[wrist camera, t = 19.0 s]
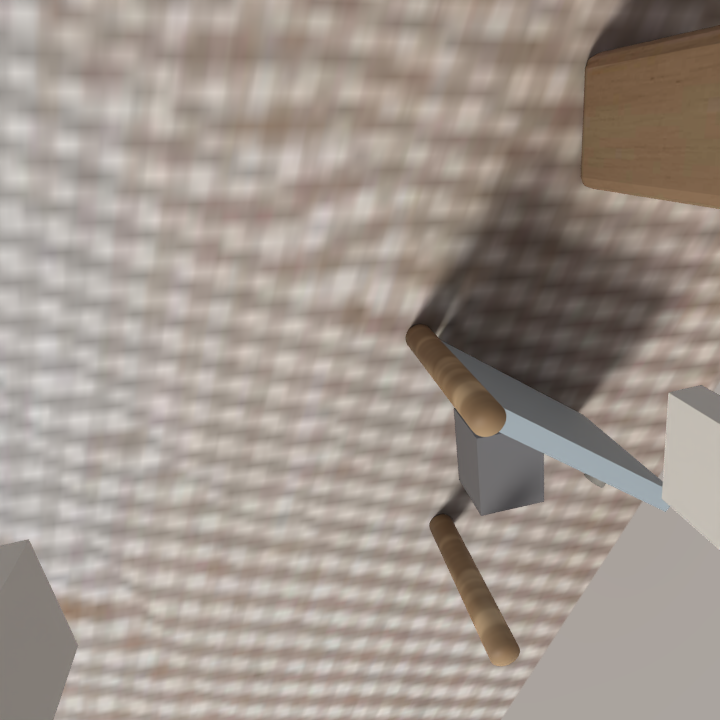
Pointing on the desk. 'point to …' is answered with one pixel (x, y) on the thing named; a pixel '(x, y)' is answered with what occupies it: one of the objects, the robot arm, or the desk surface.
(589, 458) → the door
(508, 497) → the block
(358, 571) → the desk surface
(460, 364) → the door frame
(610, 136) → the wooden block
